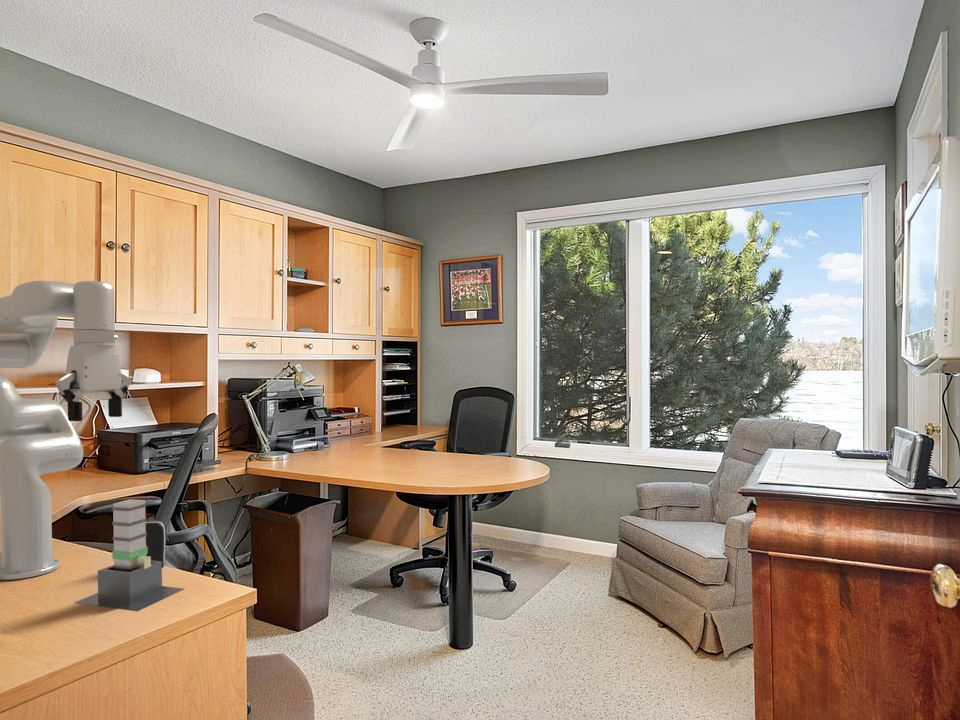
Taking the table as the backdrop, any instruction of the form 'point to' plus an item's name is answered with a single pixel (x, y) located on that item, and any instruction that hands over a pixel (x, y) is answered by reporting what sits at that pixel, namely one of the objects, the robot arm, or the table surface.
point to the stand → (130, 587)
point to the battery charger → (156, 540)
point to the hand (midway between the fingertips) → (95, 418)
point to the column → (129, 533)
